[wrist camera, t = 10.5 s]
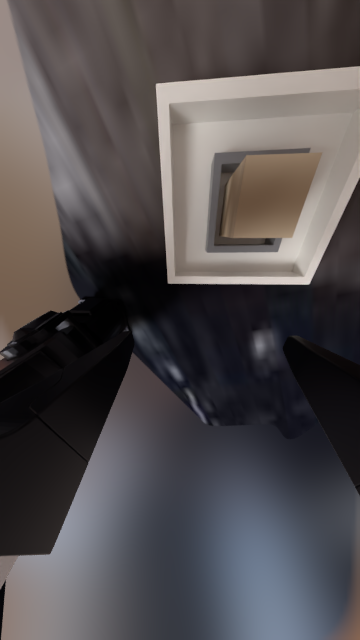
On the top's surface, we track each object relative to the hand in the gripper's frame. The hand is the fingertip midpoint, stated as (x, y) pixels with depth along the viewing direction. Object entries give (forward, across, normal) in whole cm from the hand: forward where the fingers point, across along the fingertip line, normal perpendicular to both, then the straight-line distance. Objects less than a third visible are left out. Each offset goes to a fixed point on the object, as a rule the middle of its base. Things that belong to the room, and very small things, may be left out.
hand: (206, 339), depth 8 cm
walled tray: (+12, -4, -7) cm, 14 cm away
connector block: (+11, -4, -7) cm, 14 cm away
